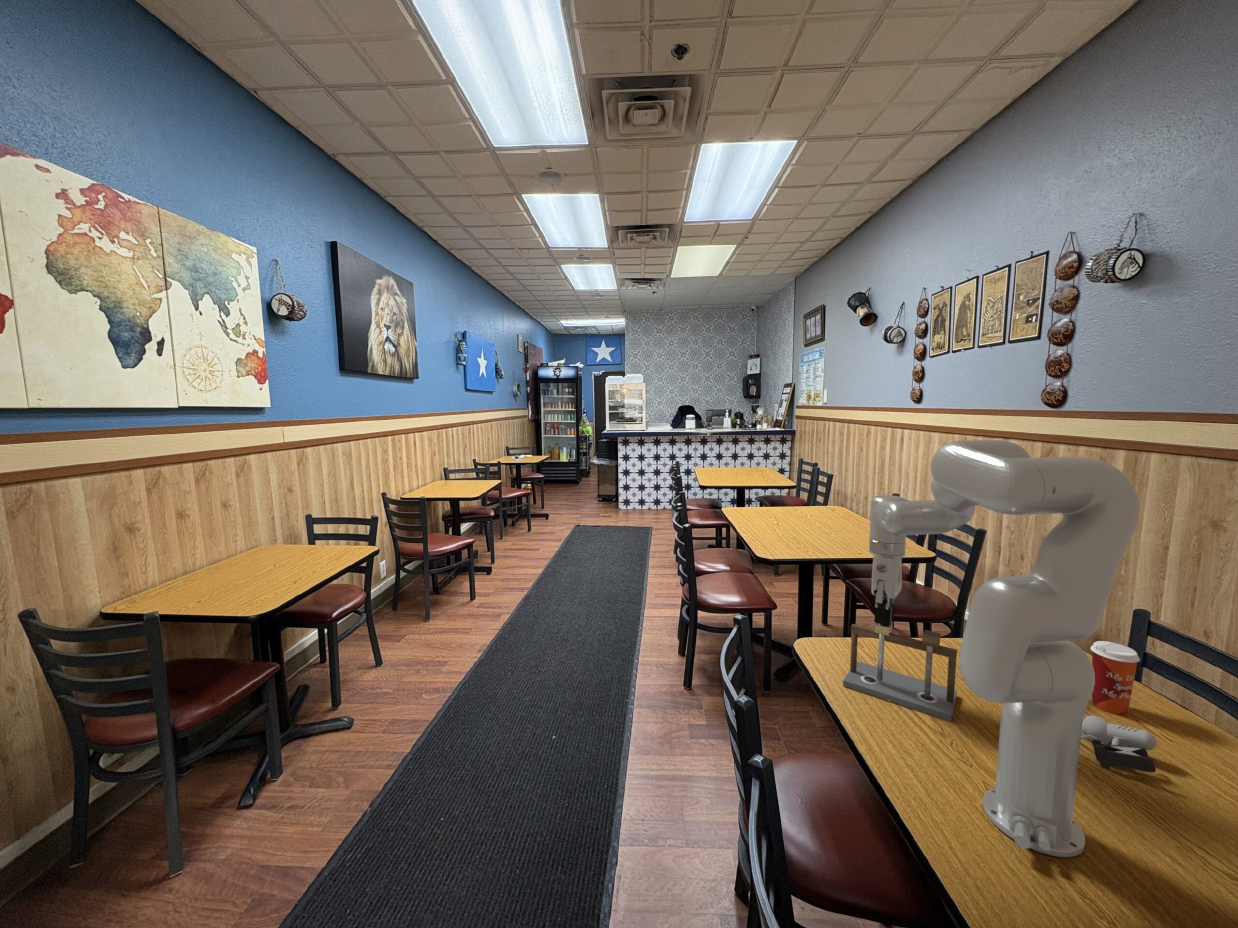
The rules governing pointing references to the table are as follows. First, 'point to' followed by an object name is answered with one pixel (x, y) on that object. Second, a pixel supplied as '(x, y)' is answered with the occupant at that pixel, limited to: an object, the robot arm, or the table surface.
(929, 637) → the divider frame
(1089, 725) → the clip-on lamp
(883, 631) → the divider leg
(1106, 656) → the paper cup
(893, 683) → the hole plate
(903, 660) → the table surface
